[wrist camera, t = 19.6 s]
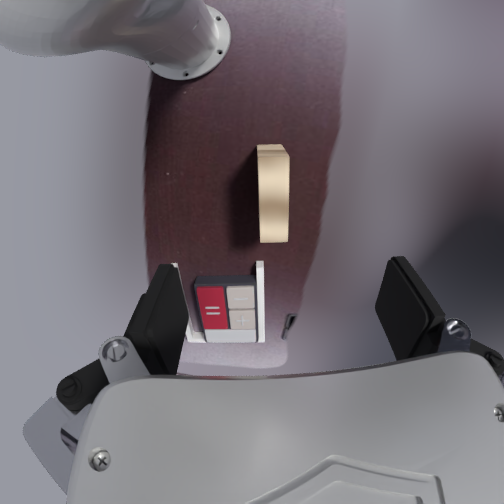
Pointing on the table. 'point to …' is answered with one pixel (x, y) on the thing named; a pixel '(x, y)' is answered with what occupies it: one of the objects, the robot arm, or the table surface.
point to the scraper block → (273, 193)
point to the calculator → (228, 308)
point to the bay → (199, 336)
